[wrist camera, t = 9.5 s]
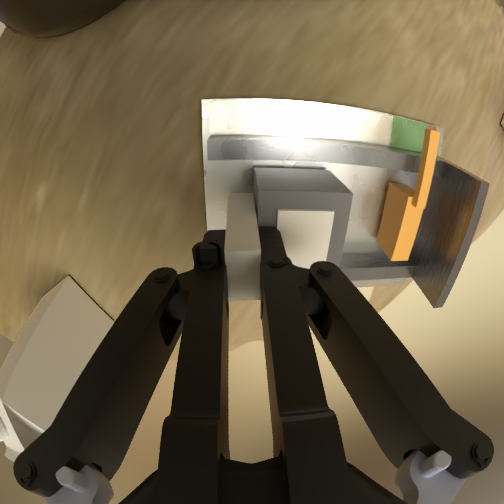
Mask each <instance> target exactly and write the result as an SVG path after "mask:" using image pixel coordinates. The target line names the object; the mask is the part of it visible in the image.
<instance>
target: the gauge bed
mask: <svg viewBox="0 0 504 504" xmlns="http://www.w3.org/2000/svg"><path fill="white" fill-rule="evenodd" d="M425 128H427V129H431V130H434V131H437V132H440V137H439V144H438V150H437V156H436V161H435V166H434V172H433V176H432V181H431V186H430V190H429V194H428V198H427V202H426V206H425V209H423V213H422V216H421V220H420V224H419V227H418V230H417V234H416V237H415V240H414V243H413V247H412V250H411V253H410V256H409V259H408V261H390V259H389V258H388V257H387V255H386V254H385V253H384V251H383V250H382V249H381V247H380V246H379V245H378V243H377V242H376V239H377V235H378V231H379V227H380V223H381V219H382V214H383V210H384V205H385V201H386V196H387V191H388V186H389V182H392V183H400V184H407V185H408V186H409V187H411V188H412V189H414V190H415V186H416V182H417V177H418V172H419V166H420V161H421V155H422V149H423V142H424V135H425ZM443 134H444V128H441V127H437V126H434V125H431V124H427V123H424V122H420V121H416V120H413V119H409V118H405V117H401V116H396V115H392V114H387V113H383V112H378V111H373V110H367V109H362V108H356V107H349V106H343V105H335V104H328V103H319V102H309V101H298V100H283V99H257V98H228V99H203V100H202V135H203V163H204V184H205V202H206V218H207V232H208V231H209V230H222V229H226V221H227V209H228V196H229V193H253V188H254V168H296V169H317V170H329V171H330V172H332V173H333V174H334V175H335V176H336V177H337V178H338V179H339V180H340V181H341V182H342V183H343V184H344V185H345V186H346V187H347V188H348V189H349V190H350V191H351V192H352V193H353V199H352V205H351V210H350V216H349V221H348V227H347V232H346V237H345V242H344V247H343V251H342V256H341V261H340V265H339V268H340V269H341V271H342V272H343V273H344V274H345V275H346V276H347V277H348V279H349V280H350V281H351V282H352V283H353V284H354V285H355V287H369V286H384V285H397V284H404V281H405V279H406V278H408V277H412V278H413V279H414V281H415V282H416V283H417V285H418V286H419V288H420V289H421V290H422V292H423V293H424V295H425V296H426V298H427V299H428V300H429V302H430V303H431V305H432V306H433V308H438V307H442V306H443V304H444V303H445V301H446V299H447V297H448V295H449V293H450V291H451V289H452V287H453V285H454V283H455V280H456V278H457V276H458V274H459V271H460V269H461V267H462V265H463V262H464V260H465V257H466V255H467V252H468V250H469V247H470V245H471V242H472V239H473V236H474V234H475V231H476V228H477V225H478V222H479V219H480V216H481V213H482V209H483V206H484V202H485V199H486V195H487V192H488V188H489V183H487V182H486V181H484V180H482V179H481V178H479V177H477V176H475V175H473V174H472V173H470V172H468V171H466V170H464V169H463V168H461V167H459V166H457V165H455V164H453V163H451V162H449V161H447V160H445V159H443V158H441V157H440V153H441V147H442V141H443Z"/></svg>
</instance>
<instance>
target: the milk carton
mask: <svg viewBox="0 0 504 504" xmlns="http://www.w3.org/2000/svg"><path fill="white" fill-rule="evenodd" d="M113 324H114V321H113V320H112V319H111V318H110V317H109V316H108V315H107V314H106V313H105V312H104V311H103V310H102V309H101V308H100V307H98V306H97V305H96V304H95V302H94V301H93V300H92V299H91V298H90V297H89V296H88V295H87V294H86V293H85V292H84V291H83V290H82V289H81V288H80V287H79V286H78V285H77V284H76V283H75V282H74V280H73V279H72V278H71V277H70V276H67V277H66V278H64V279H63V280H62V281H61V282H60V283H58V284H57V285H56V286H55V287H53V288H52V289H51V290H50V291H49V292H47V293H46V294H45V295H44V296H43V297H42V298H41V299H40V301H39V302H38V304H37V305H36V307H35V308H34V310H33V312H32V313H31V315H30V316H29V318H28V320H27V321H26V323H25V325H24V326H23V328H22V330H21V331H20V333H19V335H18V337H17V338H16V340H15V342H14V344H13V346H12V348H11V349H10V351H9V353H8V355H7V357H6V359H5V361H4V363H3V365H2V367H1V369H0V442H1V441H4V442H5V445H6V447H7V449H6V453H5V457H7V458H8V459H10V460H12V461H13V462H15V459H16V458H17V457H18V455H19V454H20V453H21V452H23V451H24V450H25V449H26V448H27V447H28V446H29V445H30V444H31V443H32V442H33V441H34V440H36V439H37V438H38V437H39V436H40V435H41V434H42V433H43V432H44V431H45V430H46V429H48V428H49V427H50V426H51V424H52V423H53V421H54V419H55V417H56V415H57V413H58V412H59V410H60V408H61V406H62V405H63V403H64V401H65V399H66V398H67V396H68V394H69V393H70V391H71V389H72V388H73V386H74V384H75V383H76V381H77V379H78V378H79V376H80V374H81V373H82V371H83V370H84V368H85V366H86V365H87V363H88V362H89V360H90V358H91V357H92V355H93V354H94V352H95V351H96V349H97V348H98V346H99V345H100V343H101V342H102V340H103V339H104V337H105V336H106V334H107V333H108V331H109V330H110V328H111V327H112V325H113Z"/></svg>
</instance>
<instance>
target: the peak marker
mask: <svg viewBox="0 0 504 504" xmlns="http://www.w3.org/2000/svg"><path fill="white" fill-rule="evenodd" d="M439 137H440V132H437V131H434V130H431V129H427V128H425V135H424V142H423V149H422V155H421V161H420V166H419V172H418V177H417V182H416V186H415V190H414V189H412V188H411V187H409V186H408V185H407V184H400V183H392V182H389V186H388V191H387V196H386V201H385V205H384V210H383V214H382V219H381V223H380V227H379V231H378V235H377V239H376V242H377V243H378V245H379V246H380V247H381V249H382V250H383V251H384V253H385V254H386V255H387V257H388V258H389V259H390V261H408V259H409V256H410V253H411V250H412V247H413V243H414V240H415V237H416V234H417V230H418V227H419V224H420V220H421V216H422V213H423V209H425V206H426V202H427V198H428V194H429V190H430V186H431V181H432V176H433V172H434V166H435V161H436V156H437V150H438V144H439Z"/></svg>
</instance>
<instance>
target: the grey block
mask: <svg viewBox="0 0 504 504" xmlns="http://www.w3.org/2000/svg"><path fill="white" fill-rule="evenodd" d="M253 196H254V203H255V210H256V217H257V225H258V228H259V227H276V228H277V229H278V230H279V231H280V233H281V236H282V240H283V244H284V247H285V251H286V255H287V257H288V258H290V260H291V261H292V264H294V265H296V266H298V267H302V268H308V269H310V266H311V265H312V264H313V263H315V262H317V261H328V262H331V263H334V264H335V265H337V266H338V267H339V265H340V261H341V256H342V251H343V247H344V242H345V237H346V232H347V227H348V221H349V216H350V210H351V205H352V199H353V193H352V192H351V191H350V190H349V189H348V188H347V187H346V186H345V185H344V184H343V183H342V182H341V181H340V180H339V179H338V178H337V177H336V176H335V175H334V174H333V173H332V172H330V171H329V170H317V169H296V168H254V188H253Z"/></svg>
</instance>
